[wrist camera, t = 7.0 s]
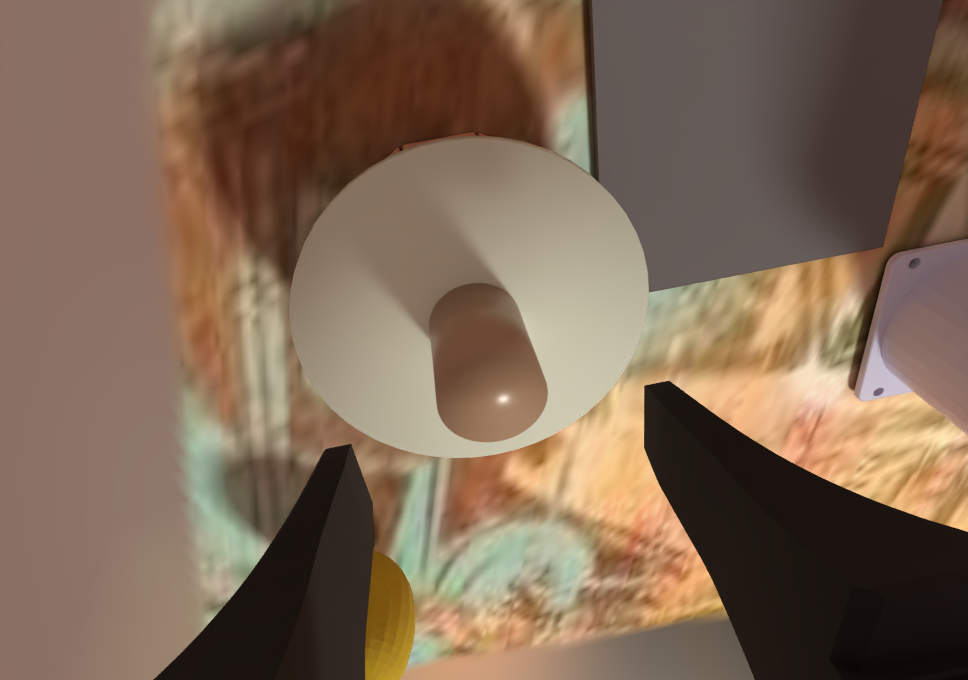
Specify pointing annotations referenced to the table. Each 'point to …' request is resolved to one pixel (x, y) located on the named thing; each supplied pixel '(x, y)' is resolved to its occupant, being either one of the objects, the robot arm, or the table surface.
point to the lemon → (388, 621)
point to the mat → (754, 126)
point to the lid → (468, 297)
